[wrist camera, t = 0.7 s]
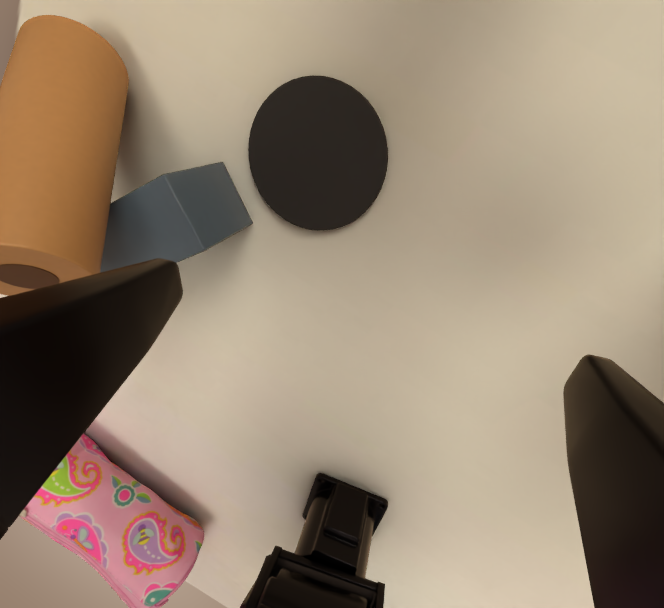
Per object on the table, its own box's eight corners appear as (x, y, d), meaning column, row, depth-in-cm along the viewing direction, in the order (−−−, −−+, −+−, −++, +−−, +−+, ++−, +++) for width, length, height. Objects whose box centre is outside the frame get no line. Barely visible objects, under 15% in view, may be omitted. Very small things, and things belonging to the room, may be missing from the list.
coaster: (364, 246, 23) (363, 247, 22) (243, 206, 24) (240, 207, 23) (408, 99, 19) (408, 99, 18) (261, 58, 20) (258, 57, 19)
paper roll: (225, 226, 24) (52, 317, 14) (170, 250, 26) (-20, 347, 16) (112, 10, 20) (-265, -107, 10) (57, 58, 22) (-309, 5, 11)
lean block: (253, 223, 24) (205, 250, 19) (154, 265, 27) (92, 297, 23) (223, 161, 23) (163, 173, 18) (123, 214, 26) (50, 236, 21)
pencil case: (36, 427, 41) (-58, 499, 34) (61, 387, 37) (-41, 460, 29) (185, 543, 44) (130, 635, 36) (225, 519, 40) (172, 618, 32)
